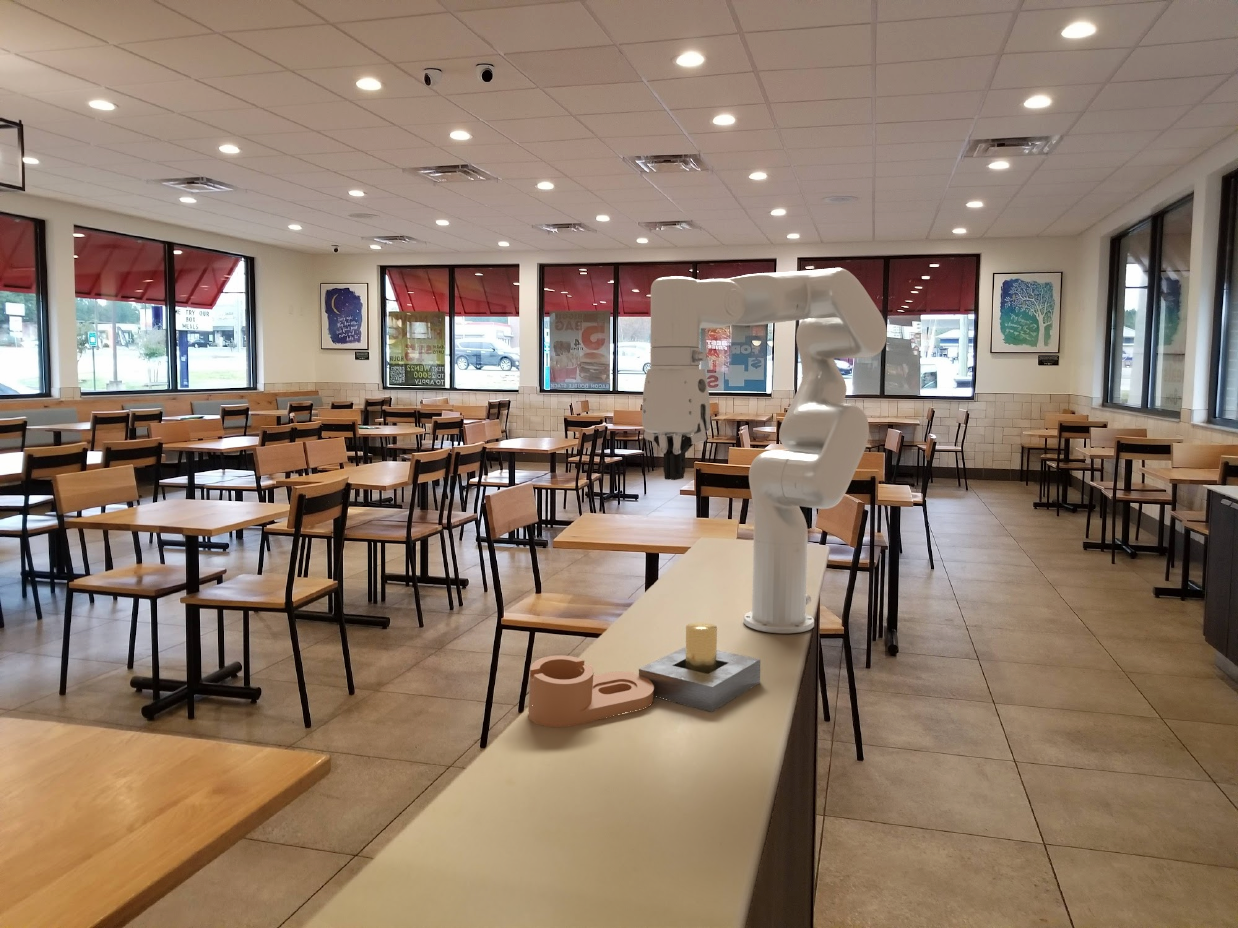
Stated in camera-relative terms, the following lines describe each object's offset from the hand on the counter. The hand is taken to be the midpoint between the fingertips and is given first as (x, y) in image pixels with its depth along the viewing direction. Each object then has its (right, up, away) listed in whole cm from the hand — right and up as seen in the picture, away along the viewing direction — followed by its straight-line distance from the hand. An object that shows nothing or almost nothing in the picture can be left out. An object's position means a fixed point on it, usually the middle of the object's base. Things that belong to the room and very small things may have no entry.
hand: (674, 478), depth 135 cm
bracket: (-12, -31, -17) cm, 38 cm away
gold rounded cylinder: (+3, -30, -9) cm, 32 cm away
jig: (+3, -30, -9) cm, 32 cm away
